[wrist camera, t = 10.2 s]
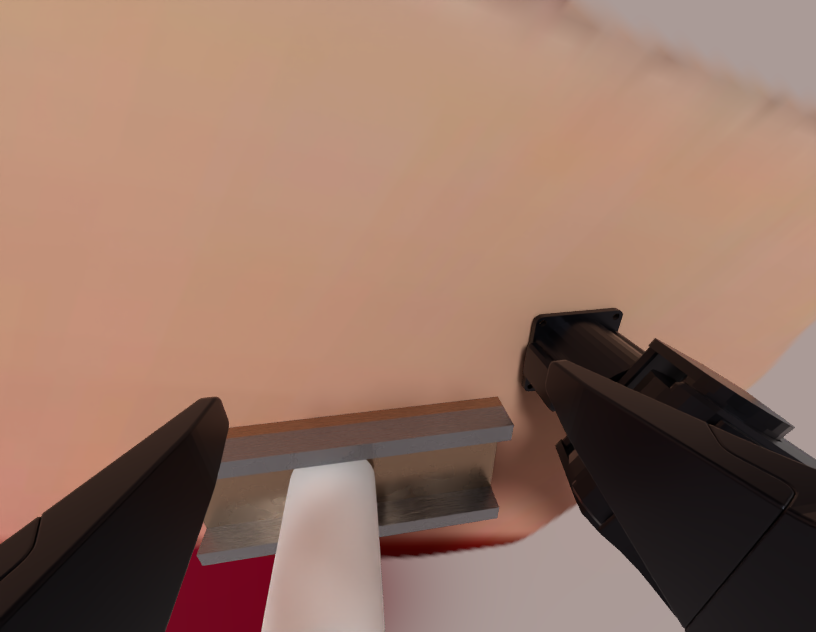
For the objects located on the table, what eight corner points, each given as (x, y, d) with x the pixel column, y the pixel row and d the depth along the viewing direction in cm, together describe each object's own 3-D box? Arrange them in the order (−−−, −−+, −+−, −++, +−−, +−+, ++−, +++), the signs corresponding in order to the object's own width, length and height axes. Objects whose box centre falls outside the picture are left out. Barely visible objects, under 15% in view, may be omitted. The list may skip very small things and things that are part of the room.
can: (354, 507, 28) (356, 721, 18) (279, 493, 26) (229, 728, 16) (388, 456, 26) (412, 667, 16) (308, 437, 24) (273, 666, 14)
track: (497, 396, 26) (513, 425, 24) (485, 486, 31) (497, 518, 29) (171, 434, 23) (148, 471, 21) (216, 526, 29) (202, 565, 26)
